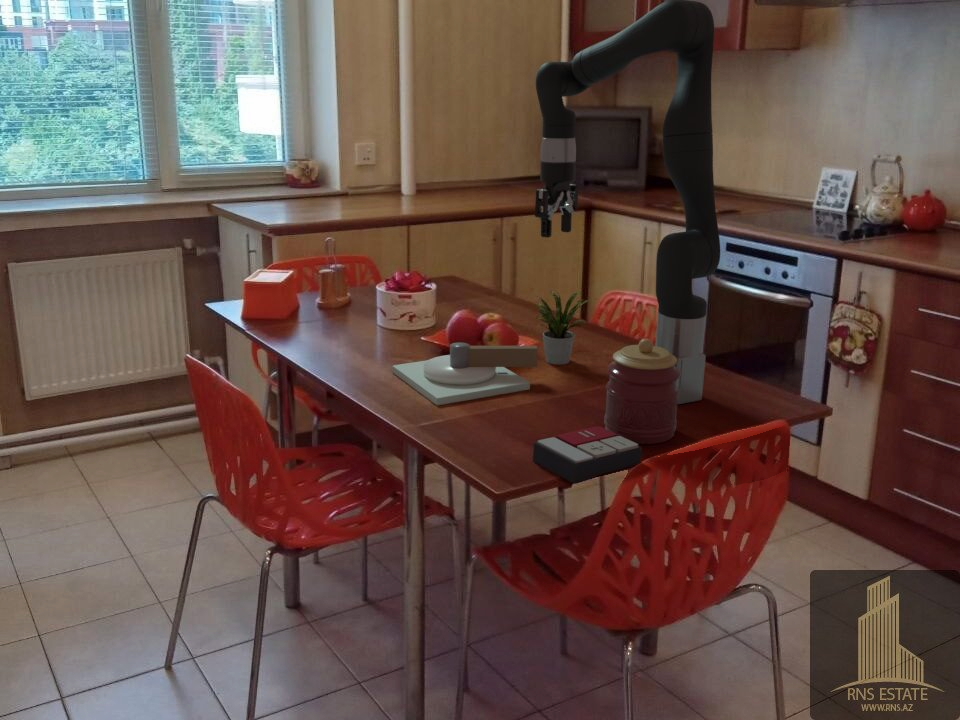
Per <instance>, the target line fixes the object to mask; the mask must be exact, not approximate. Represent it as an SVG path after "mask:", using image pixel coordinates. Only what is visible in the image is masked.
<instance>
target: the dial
mask: <svg viewBox="0 0 960 720" xmlns="http://www.w3.org/2000/svg"><path fill="white" fill-rule="evenodd" d="M425 361H426V360H425ZM496 367H505V368H537V367H538V346H537V345H471V344H469V343H467V342H453V343H451V344H450V345H449V354H447V355H446V354H445V355H440V356H436V357H432V358H430V359H428V361H426V362H425V363H424V375H425V376H426V377H427V378H428V379H430V380H433V381H436V382H440V383H445V384H456V385H465V384H475V383H481V382H484V381H487V380H490V379H492V378H493V377H494V376H495V374H496Z"/></svg>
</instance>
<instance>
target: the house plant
mask: <svg viewBox="0 0 960 720" xmlns="http://www.w3.org/2000/svg"><path fill="white" fill-rule="evenodd" d="M580 293H581V290H579V291H576V292H574V293H573V294H572V295H570V297H569V298H568V300H567V302H566V303H565V306H564V307H565V308H564V311H563V310H562V309H563V307H562V299H561V295H560V293H559V292H557V294H556V293H555V292H554V291H552V290H550V294H551V295H552V296H553V298H554V300H555V302H554V303H555V316H554V314H553V311H552V310H551V307H550V305H548V303H547V301H545V300H544V299H543V298H541V297H540V296H538V295H536V294H535V295H534V296H535V297H537V298H538V299H539V300H540V301H541V302H539V301H537V302H536V304H537V305H538V309H539V312H540V315H536V320H540V321H541V322H543V323H545V324H547V325H548V327H547V326H546V325H544V324H539V325H538V327H543V328H546V329H547V331H546V330H545V331H544V332H543V333H542V338H543V346H544V355H545V360H546V363H548V364H550V365H559V366H560V365H567V364H569V363H570V360H571V356H572V351H573V345H574V340H575V336H576V335H575V333H574V332H572V331H569V330H570V329H572V328H574V327H581V328H584V326H583V325H582V324H580V323H579V324H578V322H582V323H583V322H584V323H586V324H587V322H586V321H585V320H584V319H581V318H580V319H576V320H574V321H573V322H572V323H571V324H570V322H571V320H572V318H573V317H574V316H575V314H576V312H577V313H578V312H579V308H580V307H581V306H582V305H584V304H586V303H588V302H591V301H597V299H595V298H593V299H586V300H584V299H580V300H578V301H576V302H575V304H574V305H573V307H572V308H571V309H570V307H571V305H572V303H573V301H574V300H575V299H578V297H577V295H578V294H580ZM569 309H570V310H569ZM569 324H570V325H569Z"/></svg>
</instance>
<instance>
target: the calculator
mask: <svg viewBox="0 0 960 720" xmlns="http://www.w3.org/2000/svg"><path fill="white" fill-rule="evenodd" d="M642 450H643V449H642V447H641V446H639V444H637V443H634V442H632V441H630V440H628V439H626V438H624V437H621V436H617V434H615V433H613V432H611V431H608V430H606V429H605V427H601V426H599V425H598V426H593V427H587V428H584V429H580V430H579V429H578V430H574V431H570V432H566V433H562V434H561V433H560V434H557V435H556V437H555V436H552V437H548V438H542V439H539V440H537V441H535V442H533V450H532V462H533V463H535V464H536V465H539V466H541V467H542V468H544V469H545V470H548V471H549V472H551V473H553V474H556V476H559V477H561V478H562V479H564V480H566V481H567V482H569V483H572V484H576V485H577V484H579V483H583V482H586V481H589V480H593V479H594V478H596V477H597V476H600V475H604V474H607V473H612V472H615V471H619V470H622V469H626V468H628V467H632V466H634V465H638V464H640V463H641V461H642V452H643V451H642Z"/></svg>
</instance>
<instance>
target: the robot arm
mask: <svg viewBox="0 0 960 720" xmlns="http://www.w3.org/2000/svg"><path fill="white" fill-rule="evenodd" d="M714 39H715V21H714V17H713V14H712V11H711V10H710V8H709V6H708V5H706V4H705V3H703V2H700V1H697V0H696V1H695V0H666V1H663V2H661V3H660V4H659V5H656V6H655V7H654V8H653V9H651V10H650V11H648V12H647V13H646V14H644V15H643V16H642V17H640V18H639V19H638V20H636V21H634V22H633V23H632V24H630V25H629V26H627V27H625V28H623V30H621V31H619V32H617V33H615V34H614V35H612V36H609V37H608V38H605V39H604V40H601V41H599V42H597V43H594V44H592V45H590V46H588V47H586V48H584V49H582V50H580V51H579V52H577V53H576V54H575V55H574V56H573V59H572V60H571V61H547V62H545V63H543V64H541V66H540V67H539V69H538V71H537V73H536V77H535V90H536V95H537V101H538V104H539V109H540V112H541V117H542V139H541V145H540V146H541V147H540V169H539V170H540V172H539V175H540V178H539V179H540V182H543V183H544V184H545V185H544V189H543V188H537V189H536V190H535V203H534V205H535V207H534V217H535V218H538V219H540V236H541V238H551V237H552V229H553V228H552V224H553V223H552V222H553V221H552V218H553V215H554V213H556V212H557V210H558V208H559V210H560V212H561V218H560V219H561V220H560V221H561V222H560V223H561V225H560V231H561V233H562V232H563V233H570V232H571V231H572V216H573V215H574V214H575V212H577V211H578V210H579V185H578V184H577V183H576V184H575V183H573V182H575V180H576V166H577V165H576V160H577V159H576V158H577V144H576V127H577V126H576V121H577V118H576V113H575V111H573V110H572V109H569V108H566V107H565V105H564V100H563V97H565V98H567V97H573V96H576V95H579V94H581V93H583V92H585V91H586V90H587V89H589V88H590V87H592V85H594V84H597V83H599V82H601V81H603V80H606V79H608V78H611V77H613V76H615V75H617V74H619V73H620V72H622V71H624V69H626V68H627V67H628V65H630V64H631V63H632V62H633V61H634V60H636V59H639V58H640V57H644V56H647V55H651V54H656V53H660V52H661V53H662V52H667V53H672V54H675V55H676V61H677V63H676V64H677V71H676V72H677V77H676V79H677V80H676V86H675V89H674V93H673V96H672V99H671V101H670V103H669V105H668V106H669V107H668V109H667V112H666V114H665V117H664V120H663V125H662V155H663V157H662V158H663V164H664V167H665V170H666V172H667V174H668V176H669V178H670V180H671V182H672V183H673V186H674V187H675V189H676V191H677V192H678V194H679V196H680V199H681V202H682V204H683V210H684V216H685V218H684V220H685V231H680V232H672V233H669V234H667V235H665V236H664V237H663V238H661V241H660V243H659V245H658V248H657V253H656V260H655V261H656V262H655V263H656V264H655V271H656V272H655V273H656V274H655V295H656V299H657V303H658V307H657V308H658V311H657V321H656V323H657V324H656V335H655V346H657V347H661V348H664V349H666V350H668V351H669V353H671V354H672V355H674V356H675V357H676V358H677V363H676V364H675V366H676V367H677V368H678V369H679V370H680V372H681V376H680V377H679V378H678V379H677V387H678V388H679V394H678V401H677V405H682V404H687V403H693V402H698V401H702V399H703V388H704V377H705V367H706V359H707V358H706V354H704V353H703V349H704V338H705V330H706V329H705V328H706V318H707V310H708V309H707V307H708V304H707V300H706V299H705V298H703V297H701V296H699V295H696V294H693V280H695V279H701V278H706V277H710V276H711V275H713V274H714V273H715V272H716V270H717V269H718V267H719V264H720V260H721V240H720V232H719V231H720V230H719V226H718V217H717V211H716V210H717V209H716V198H715V197H716V196H715V185H714V182H715V181H714V180H715V179H714V143H713V141H714V140H713V132H714V131H713V122H712V121H713V119H712V118H713V116H712V73H713V72H712V67H713V58H714V57H713V56H714V42H715V40H714Z"/></svg>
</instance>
